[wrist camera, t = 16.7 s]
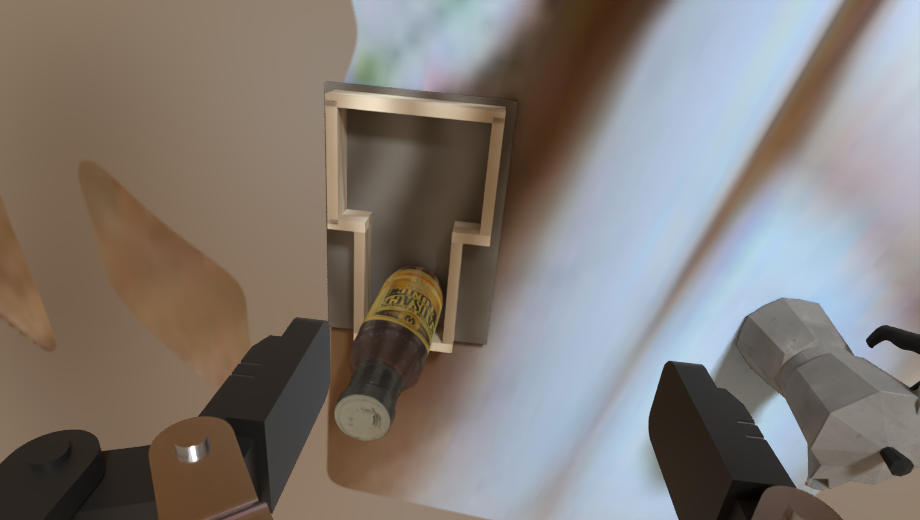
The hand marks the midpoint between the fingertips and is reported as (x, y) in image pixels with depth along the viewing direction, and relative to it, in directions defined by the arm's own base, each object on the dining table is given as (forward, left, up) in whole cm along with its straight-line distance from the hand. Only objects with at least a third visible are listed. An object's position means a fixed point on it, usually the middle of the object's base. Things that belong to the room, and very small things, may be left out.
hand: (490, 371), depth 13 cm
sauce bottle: (+7, +18, -37) cm, 42 cm away
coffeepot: (-32, +18, -38) cm, 53 cm away
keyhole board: (+7, +11, -38) cm, 40 cm away
